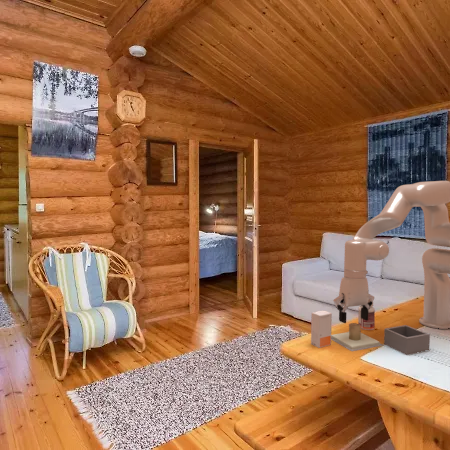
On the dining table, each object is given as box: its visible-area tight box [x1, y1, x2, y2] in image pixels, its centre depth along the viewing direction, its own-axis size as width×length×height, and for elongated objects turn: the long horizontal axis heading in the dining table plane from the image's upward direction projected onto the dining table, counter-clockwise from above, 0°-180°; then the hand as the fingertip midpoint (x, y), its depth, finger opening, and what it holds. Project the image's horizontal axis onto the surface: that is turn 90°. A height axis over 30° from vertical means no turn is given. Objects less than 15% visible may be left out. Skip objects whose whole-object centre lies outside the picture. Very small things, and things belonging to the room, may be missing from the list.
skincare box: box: [310, 310, 333, 349], centre depth 129 cm, size 6×4×12 cm
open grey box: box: [383, 324, 431, 356], centre depth 126 cm, size 10×10×6 cm
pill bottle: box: [357, 301, 376, 331], centre depth 146 cm, size 6×6×11 cm
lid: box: [331, 322, 381, 350], centre depth 132 cm, size 12×12×6 cm
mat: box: [331, 338, 385, 352], centre depth 132 cm, size 14×14×1 cm
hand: (353, 320), depth 131 cm, fingers open, 9 cm apart
